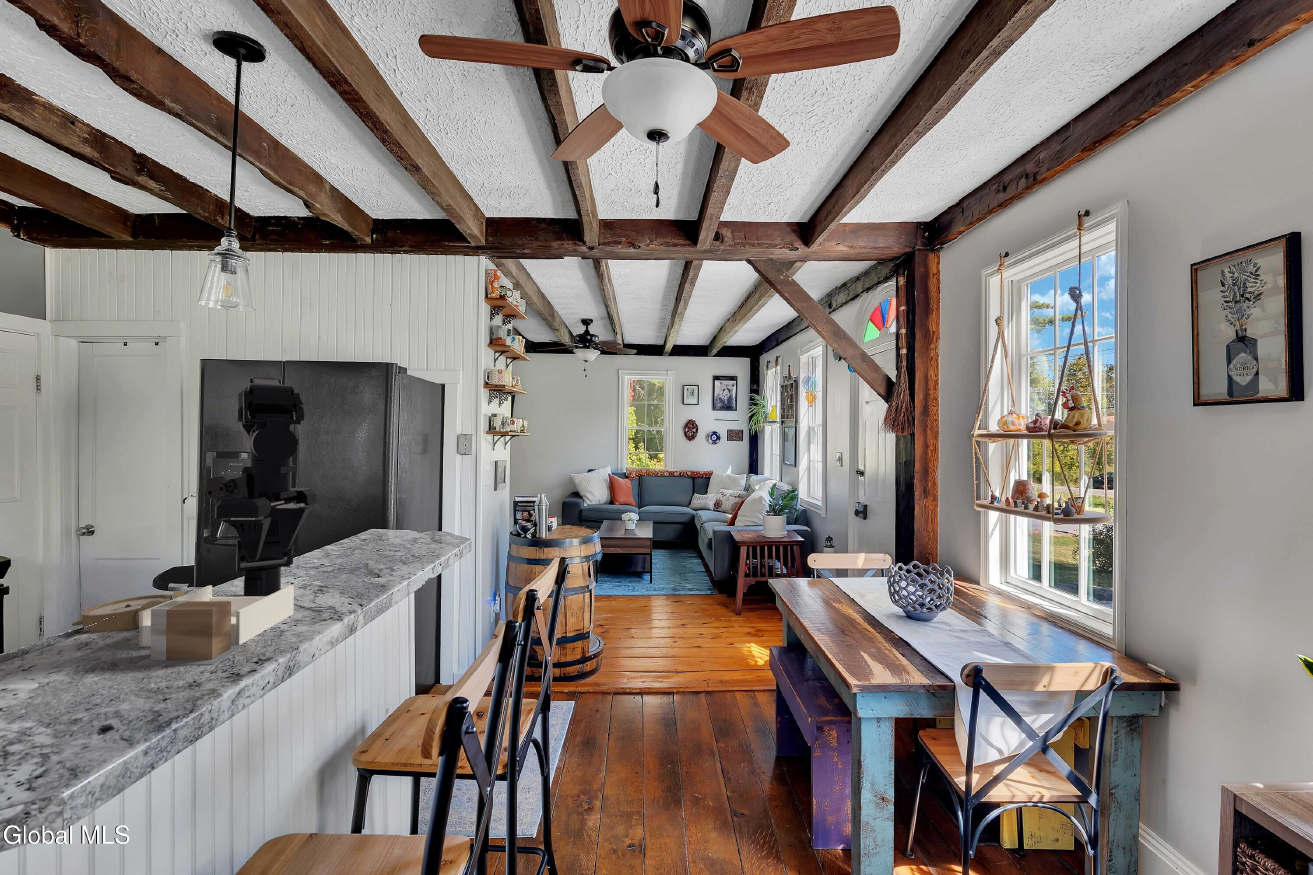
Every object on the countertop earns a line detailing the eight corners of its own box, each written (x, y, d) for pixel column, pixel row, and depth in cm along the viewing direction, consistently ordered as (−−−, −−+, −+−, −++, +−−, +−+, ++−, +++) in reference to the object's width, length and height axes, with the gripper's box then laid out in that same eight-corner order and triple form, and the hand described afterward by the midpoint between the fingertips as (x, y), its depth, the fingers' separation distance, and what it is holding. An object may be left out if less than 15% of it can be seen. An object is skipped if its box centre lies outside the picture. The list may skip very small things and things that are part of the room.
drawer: (208, 617, 101) (208, 585, 100) (293, 616, 102) (293, 584, 102) (138, 649, 86) (139, 612, 86) (239, 647, 87) (239, 611, 87)
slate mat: (172, 650, 85) (172, 646, 85) (244, 649, 86) (244, 644, 86) (133, 669, 78) (133, 665, 78) (212, 668, 79) (212, 663, 79)
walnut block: (172, 649, 84) (173, 600, 84) (231, 648, 85) (231, 600, 85) (150, 660, 80) (150, 609, 80) (211, 659, 81) (212, 608, 81)
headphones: (112, 598, 101) (207, 581, 104) (118, 626, 101) (213, 608, 104) (58, 619, 90) (166, 598, 93) (65, 650, 90) (172, 628, 93)
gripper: (253, 457, 104) (252, 543, 105) (177, 462, 86) (176, 567, 86) (318, 457, 105) (317, 543, 106) (256, 463, 87) (255, 567, 87)
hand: (269, 554), depth 96 cm, fingers open, 9 cm apart
